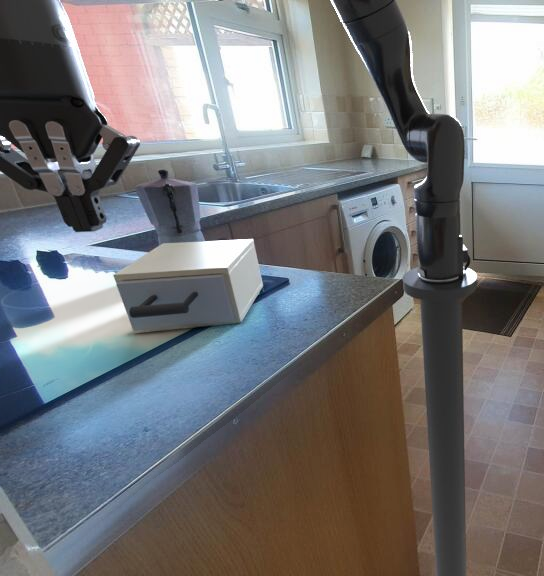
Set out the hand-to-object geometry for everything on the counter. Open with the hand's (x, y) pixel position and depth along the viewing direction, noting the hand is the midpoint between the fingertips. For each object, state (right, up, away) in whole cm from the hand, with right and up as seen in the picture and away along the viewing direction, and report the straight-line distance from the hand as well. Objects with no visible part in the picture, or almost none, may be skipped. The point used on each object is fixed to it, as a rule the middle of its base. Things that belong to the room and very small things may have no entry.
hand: (89, 229), depth 43 cm
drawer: (-6, -10, +22) cm, 25 cm away
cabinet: (-7, -9, +27) cm, 29 cm away
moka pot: (-23, -2, +42) cm, 48 cm away
